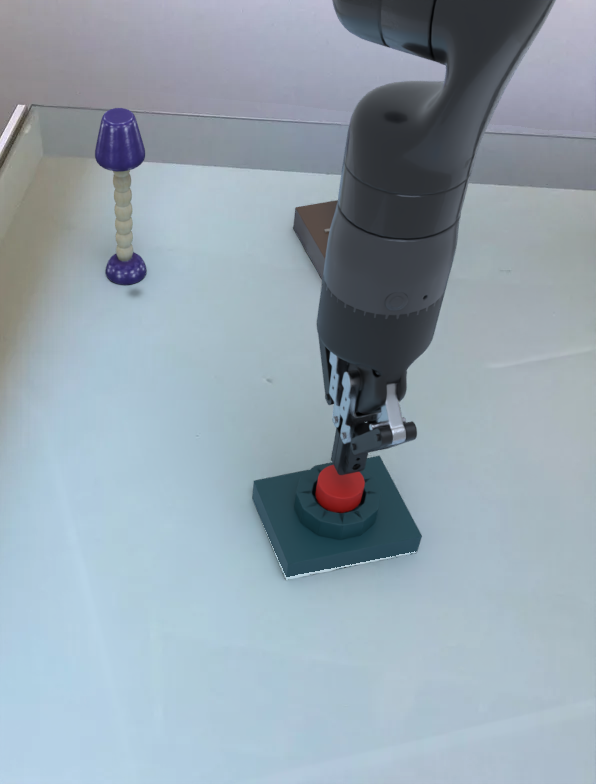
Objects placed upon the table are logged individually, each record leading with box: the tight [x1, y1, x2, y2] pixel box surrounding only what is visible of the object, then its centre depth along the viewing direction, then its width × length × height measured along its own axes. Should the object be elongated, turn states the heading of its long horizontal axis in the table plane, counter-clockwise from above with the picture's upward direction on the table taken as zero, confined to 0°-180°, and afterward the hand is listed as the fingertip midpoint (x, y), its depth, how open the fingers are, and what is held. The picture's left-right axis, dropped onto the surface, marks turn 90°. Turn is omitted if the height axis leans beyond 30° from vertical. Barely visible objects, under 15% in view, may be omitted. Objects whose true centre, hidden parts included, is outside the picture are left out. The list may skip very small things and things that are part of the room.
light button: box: [315, 465, 365, 513], centre depth 75 cm, size 4×4×2 cm
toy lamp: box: [94, 107, 147, 286], centre depth 92 cm, size 5×5×17 cm
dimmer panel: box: [292, 199, 338, 280], centre depth 99 cm, size 12×10×3 cm
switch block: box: [251, 455, 423, 577], centre depth 77 cm, size 11×9×4 cm
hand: (347, 466), depth 73 cm, fingers closed
